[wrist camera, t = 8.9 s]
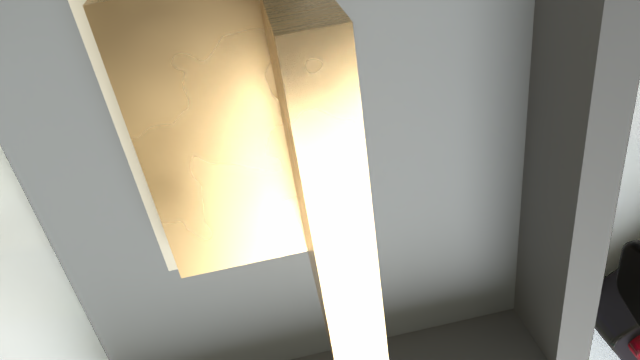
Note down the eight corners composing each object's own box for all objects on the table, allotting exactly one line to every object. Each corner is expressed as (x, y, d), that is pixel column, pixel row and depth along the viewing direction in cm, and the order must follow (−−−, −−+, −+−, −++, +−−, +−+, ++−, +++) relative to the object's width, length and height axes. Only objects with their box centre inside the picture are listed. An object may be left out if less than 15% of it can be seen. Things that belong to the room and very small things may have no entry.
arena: (576, -233, 13) (701, -260, 10) (528, 305, 23) (583, 385, 19) (-111, -124, 12) (-235, -113, 9) (140, 394, 22) (127, 495, 18)
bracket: (339, 219, 18) (389, 369, 13) (183, 253, 17) (171, 421, 12) (299, -44, 13) (352, 21, 8) (92, -7, 13) (16, 84, 8)
